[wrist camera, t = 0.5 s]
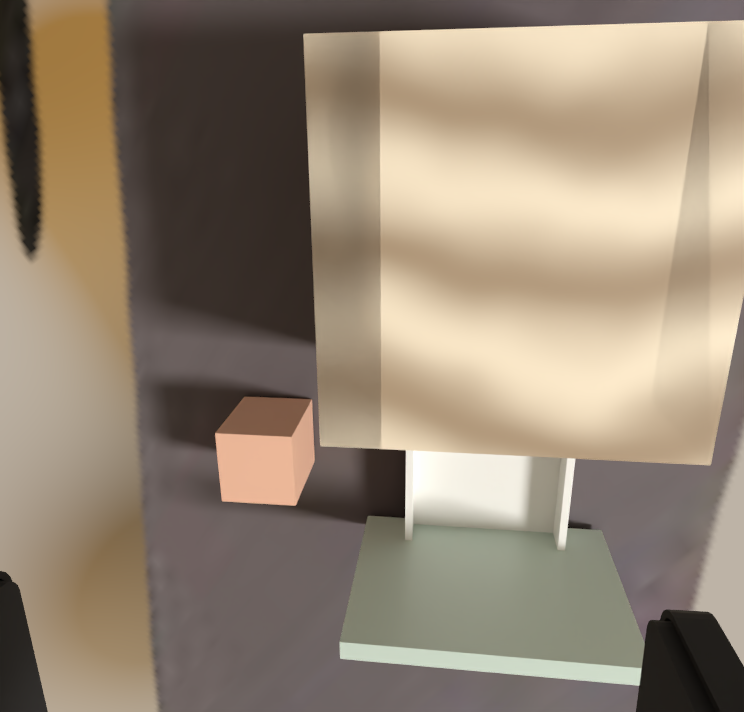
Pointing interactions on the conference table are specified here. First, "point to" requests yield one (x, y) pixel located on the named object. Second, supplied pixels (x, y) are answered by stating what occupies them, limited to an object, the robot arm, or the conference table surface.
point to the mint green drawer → (491, 576)
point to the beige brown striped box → (527, 237)
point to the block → (266, 450)
